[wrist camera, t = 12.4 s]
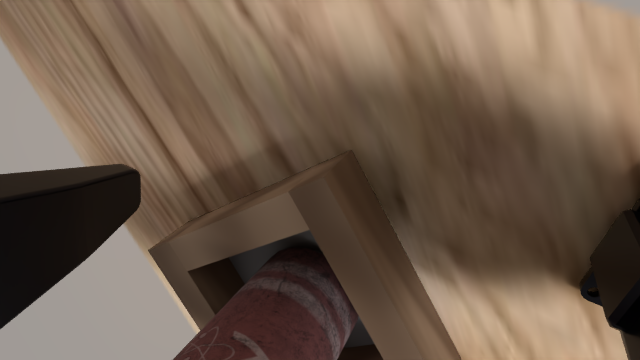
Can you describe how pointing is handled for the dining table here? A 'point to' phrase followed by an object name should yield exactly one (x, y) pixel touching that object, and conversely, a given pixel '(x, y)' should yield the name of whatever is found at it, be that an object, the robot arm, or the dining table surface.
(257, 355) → the can
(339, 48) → the dining table surface
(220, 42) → the dining table surface
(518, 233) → the dining table surface
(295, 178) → the collar
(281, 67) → the dining table surface
